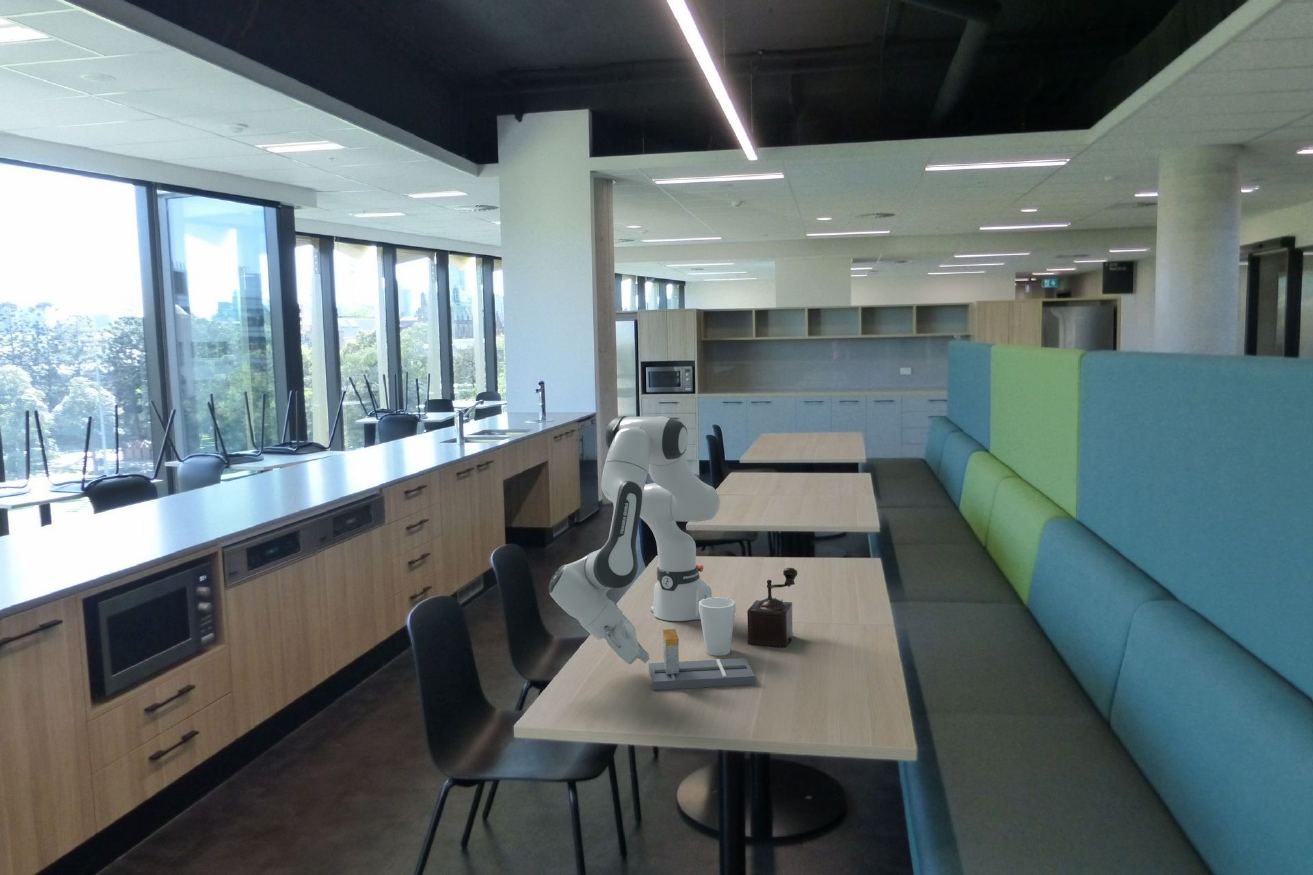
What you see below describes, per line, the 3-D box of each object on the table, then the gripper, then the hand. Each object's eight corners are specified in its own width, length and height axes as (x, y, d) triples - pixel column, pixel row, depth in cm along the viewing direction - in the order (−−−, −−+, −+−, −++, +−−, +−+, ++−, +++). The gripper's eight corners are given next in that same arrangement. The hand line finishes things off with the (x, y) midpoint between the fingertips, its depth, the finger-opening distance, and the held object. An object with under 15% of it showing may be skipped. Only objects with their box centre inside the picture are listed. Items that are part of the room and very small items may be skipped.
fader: (666, 674, 211) (665, 639, 210) (663, 664, 218) (662, 629, 217) (679, 674, 212) (678, 638, 211) (676, 663, 219) (675, 629, 218)
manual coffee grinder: (788, 648, 235) (787, 581, 233) (746, 644, 238) (745, 578, 236) (799, 629, 249) (799, 566, 247) (760, 626, 253) (759, 563, 251)
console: (652, 689, 209) (652, 680, 209) (648, 671, 221) (648, 662, 221) (754, 684, 211) (754, 674, 211) (745, 665, 223) (745, 656, 223)
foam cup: (706, 659, 228) (705, 609, 227) (694, 647, 237) (693, 599, 235) (741, 655, 230) (740, 605, 229) (728, 643, 239) (728, 595, 238)
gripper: (615, 625, 202) (660, 664, 204) (612, 598, 222) (652, 635, 224) (596, 645, 202) (641, 684, 204) (594, 617, 222) (635, 653, 224)
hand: (647, 658), depth 214 cm, fingers closed
